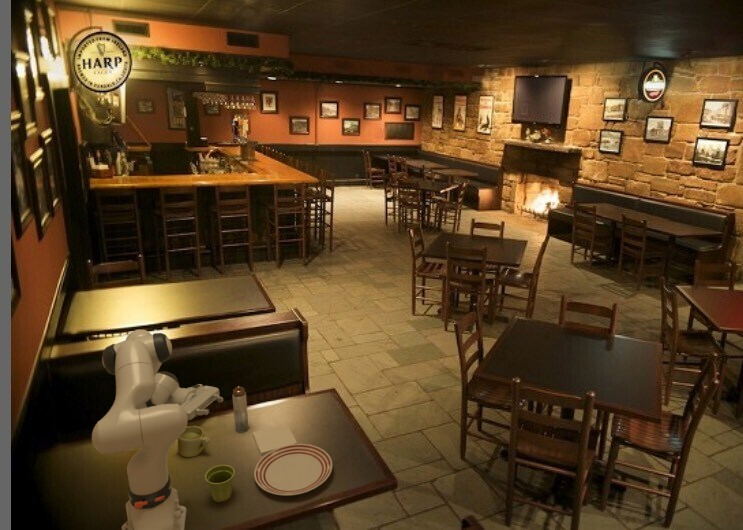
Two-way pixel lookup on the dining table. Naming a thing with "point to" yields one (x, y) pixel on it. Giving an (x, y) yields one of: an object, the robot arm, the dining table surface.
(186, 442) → the mug
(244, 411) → the pepper mill
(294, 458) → the dinner plate
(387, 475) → the dining table surface
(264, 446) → the serving tile
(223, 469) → the plant pot
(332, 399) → the dining table surface
